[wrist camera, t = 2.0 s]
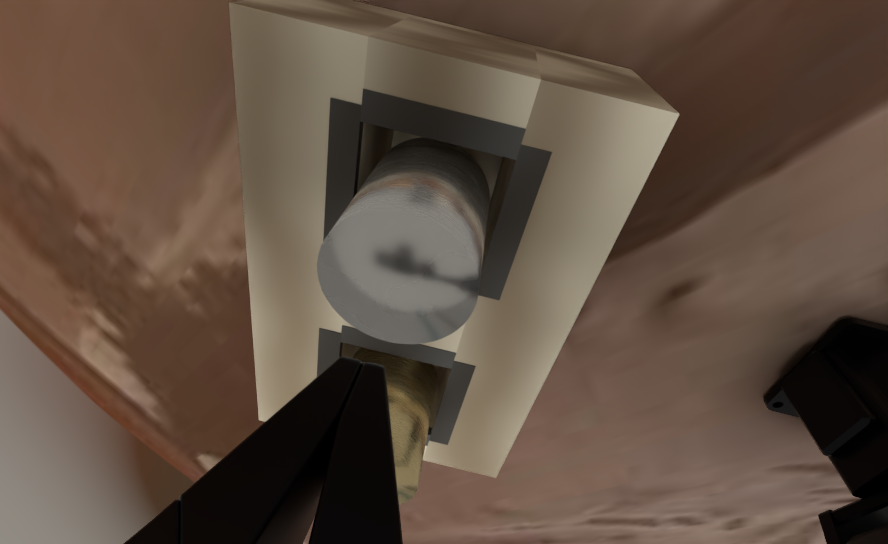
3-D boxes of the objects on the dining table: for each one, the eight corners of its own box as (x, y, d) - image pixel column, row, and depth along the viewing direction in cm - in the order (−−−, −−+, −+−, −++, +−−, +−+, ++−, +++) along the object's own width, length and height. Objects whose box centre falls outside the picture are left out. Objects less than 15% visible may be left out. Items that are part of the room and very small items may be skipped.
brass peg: (445, 353, 19) (426, 460, 15) (429, 411, 21) (408, 516, 17) (354, 331, 19) (310, 431, 15) (347, 391, 21) (307, 492, 17)
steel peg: (504, 154, 14) (498, 234, 10) (473, 258, 16) (458, 359, 12) (378, 123, 14) (319, 190, 10) (365, 232, 16) (314, 323, 12)
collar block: (631, 69, 16) (680, 114, 11) (499, 384, 27) (495, 478, 22) (314, -10, 16) (227, 2, 11) (306, 336, 27) (258, 420, 22)
